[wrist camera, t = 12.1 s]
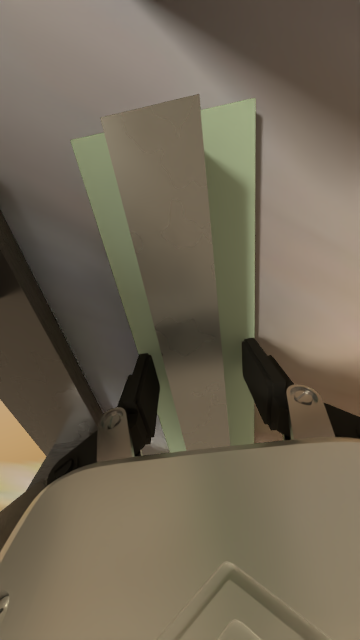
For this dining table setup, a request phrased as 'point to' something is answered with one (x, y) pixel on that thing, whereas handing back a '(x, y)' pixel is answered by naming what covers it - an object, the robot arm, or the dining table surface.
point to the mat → (228, 249)
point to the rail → (175, 254)
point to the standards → (39, 364)
